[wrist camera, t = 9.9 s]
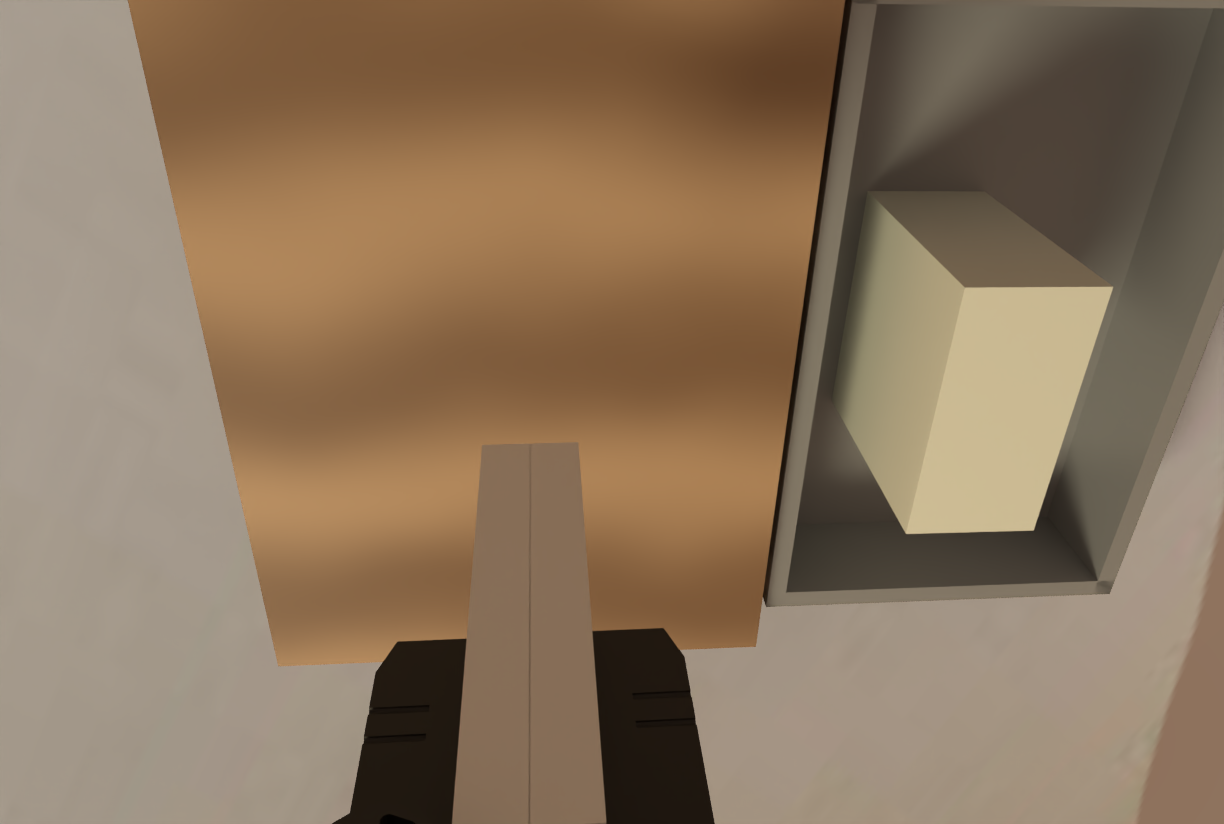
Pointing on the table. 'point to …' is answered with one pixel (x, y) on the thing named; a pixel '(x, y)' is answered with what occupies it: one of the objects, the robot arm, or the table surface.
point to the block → (962, 358)
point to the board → (496, 287)
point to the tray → (1060, 210)
